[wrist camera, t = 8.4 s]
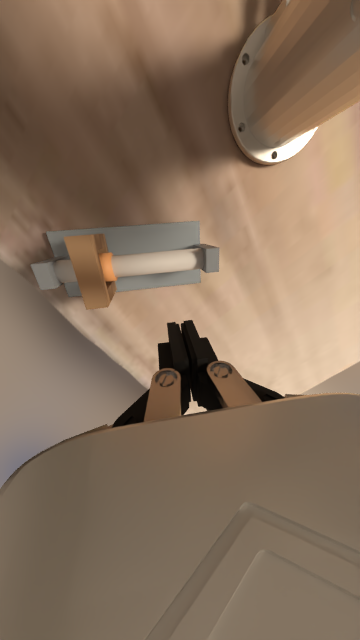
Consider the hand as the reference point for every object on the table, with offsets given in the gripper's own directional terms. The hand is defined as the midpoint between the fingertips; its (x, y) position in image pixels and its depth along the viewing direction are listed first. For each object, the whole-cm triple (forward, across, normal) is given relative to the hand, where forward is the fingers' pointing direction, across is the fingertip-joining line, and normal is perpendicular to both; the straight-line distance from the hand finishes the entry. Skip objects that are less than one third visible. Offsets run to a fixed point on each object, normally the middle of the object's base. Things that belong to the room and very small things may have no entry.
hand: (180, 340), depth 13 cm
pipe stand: (+20, +4, -2) cm, 20 cm away
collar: (+18, +8, -2) cm, 20 cm away
